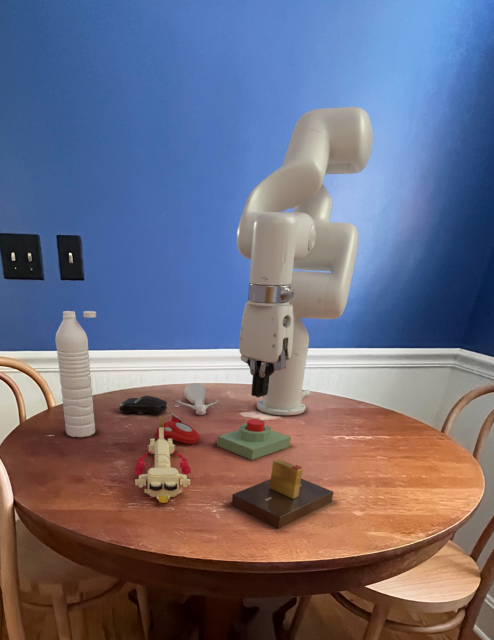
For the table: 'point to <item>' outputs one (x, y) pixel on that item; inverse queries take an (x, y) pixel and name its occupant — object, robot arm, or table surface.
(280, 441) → the green button base
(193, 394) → the woman figurine
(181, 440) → the tracker holder
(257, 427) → the button
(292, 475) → the lock knob
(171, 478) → the blocky toy figure
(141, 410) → the toy car
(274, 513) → the lock plate
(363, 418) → the table surface
